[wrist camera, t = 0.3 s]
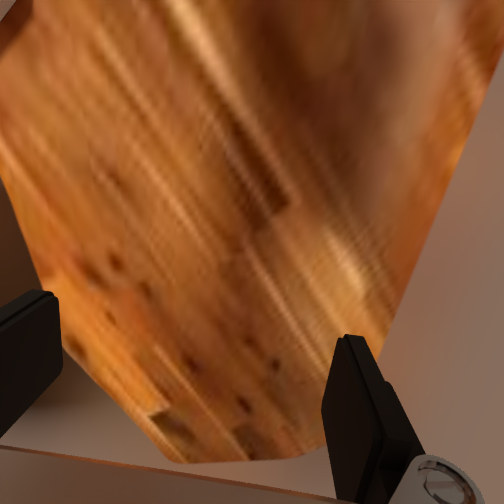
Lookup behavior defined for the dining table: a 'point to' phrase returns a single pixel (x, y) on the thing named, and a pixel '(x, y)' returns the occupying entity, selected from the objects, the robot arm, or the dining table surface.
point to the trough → (5, 7)
